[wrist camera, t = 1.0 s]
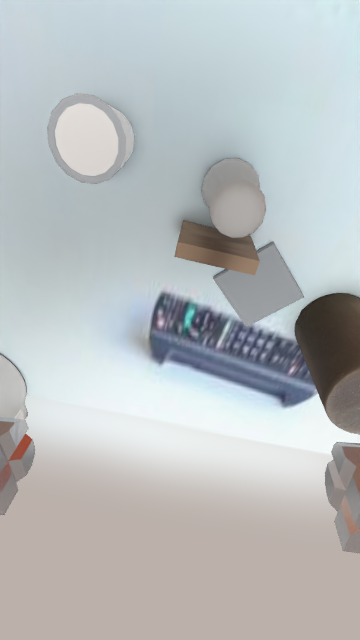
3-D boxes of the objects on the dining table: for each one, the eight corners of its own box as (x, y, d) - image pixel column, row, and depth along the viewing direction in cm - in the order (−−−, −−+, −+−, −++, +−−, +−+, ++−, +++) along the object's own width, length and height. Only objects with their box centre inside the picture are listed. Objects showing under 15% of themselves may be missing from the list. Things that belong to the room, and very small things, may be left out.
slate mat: (245, 323, 45) (246, 326, 44) (213, 276, 42) (213, 279, 41) (302, 294, 42) (304, 297, 41) (272, 241, 39) (273, 243, 38)
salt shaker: (247, 218, 38) (264, 257, 26) (197, 208, 38) (193, 243, 26) (263, 161, 35) (289, 179, 24) (209, 150, 35) (209, 163, 23)
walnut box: (251, 236, 39) (260, 261, 32) (246, 249, 39) (254, 275, 33) (183, 220, 38) (177, 241, 31) (180, 233, 39) (174, 256, 32)
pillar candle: (290, 302, 43) (324, 381, 30) (373, 284, 40) (448, 362, 28) (298, 361, 47) (331, 452, 34) (373, 348, 45) (438, 440, 32)
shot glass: (79, 88, 33) (50, 80, 27) (147, 112, 33) (133, 109, 27) (71, 162, 36) (43, 170, 30) (132, 182, 37) (117, 194, 31)
